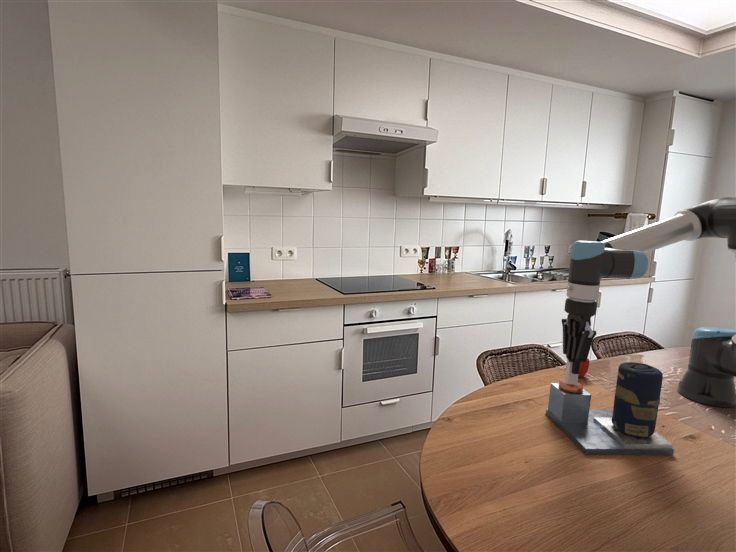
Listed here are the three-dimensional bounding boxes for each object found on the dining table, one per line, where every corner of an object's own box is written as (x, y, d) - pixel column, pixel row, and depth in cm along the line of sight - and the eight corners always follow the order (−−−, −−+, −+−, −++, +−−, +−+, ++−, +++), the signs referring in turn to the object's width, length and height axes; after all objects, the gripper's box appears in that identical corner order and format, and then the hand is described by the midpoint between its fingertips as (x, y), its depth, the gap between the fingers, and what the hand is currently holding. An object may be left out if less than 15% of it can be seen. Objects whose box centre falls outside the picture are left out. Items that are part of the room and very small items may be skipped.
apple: (570, 371, 153) (572, 351, 152) (588, 375, 149) (591, 355, 148) (566, 376, 148) (569, 356, 147) (586, 380, 144) (588, 360, 143)
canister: (661, 442, 101) (672, 372, 98) (618, 437, 103) (628, 368, 100) (643, 423, 110) (653, 359, 107) (605, 418, 112) (613, 355, 109)
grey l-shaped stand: (619, 414, 120) (623, 383, 118) (673, 455, 100) (679, 418, 99) (545, 413, 119) (549, 382, 117) (585, 454, 99) (590, 417, 97)
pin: (572, 408, 118) (575, 379, 116) (583, 419, 112) (587, 389, 110) (551, 408, 117) (554, 379, 116) (562, 419, 111) (566, 388, 110)
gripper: (555, 293, 116) (546, 373, 119) (581, 304, 103) (570, 393, 106) (581, 294, 116) (571, 374, 120) (610, 305, 103) (598, 394, 107)
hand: (570, 383), depth 113 cm, fingers closed
